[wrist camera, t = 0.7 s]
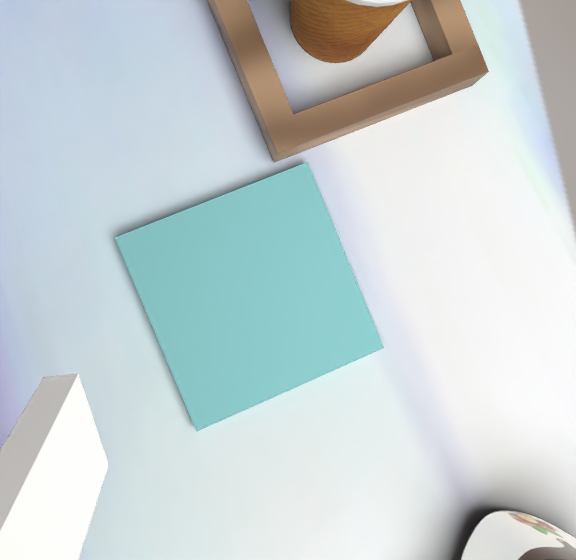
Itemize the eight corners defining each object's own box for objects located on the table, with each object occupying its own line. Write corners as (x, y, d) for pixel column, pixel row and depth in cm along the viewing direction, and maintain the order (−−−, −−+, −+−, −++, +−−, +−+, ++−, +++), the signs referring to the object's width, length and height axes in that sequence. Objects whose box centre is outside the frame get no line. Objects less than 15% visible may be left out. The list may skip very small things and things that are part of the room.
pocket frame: (186, -50, 36) (183, -75, 34) (390, -117, 38) (401, -146, 36) (274, 162, 37) (277, 153, 34) (471, 85, 39) (488, 71, 36)
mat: (117, 239, 35) (114, 237, 34) (305, 165, 37) (307, 162, 36) (197, 427, 36) (196, 431, 35) (379, 346, 37) (384, 347, 36)
